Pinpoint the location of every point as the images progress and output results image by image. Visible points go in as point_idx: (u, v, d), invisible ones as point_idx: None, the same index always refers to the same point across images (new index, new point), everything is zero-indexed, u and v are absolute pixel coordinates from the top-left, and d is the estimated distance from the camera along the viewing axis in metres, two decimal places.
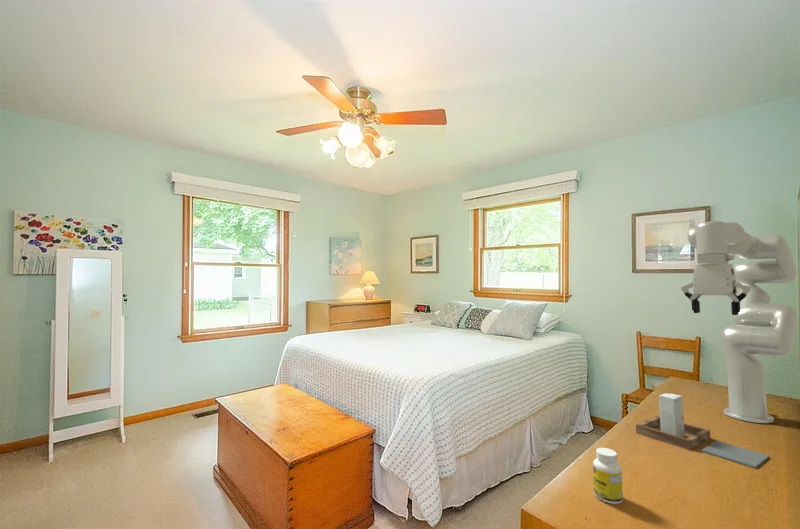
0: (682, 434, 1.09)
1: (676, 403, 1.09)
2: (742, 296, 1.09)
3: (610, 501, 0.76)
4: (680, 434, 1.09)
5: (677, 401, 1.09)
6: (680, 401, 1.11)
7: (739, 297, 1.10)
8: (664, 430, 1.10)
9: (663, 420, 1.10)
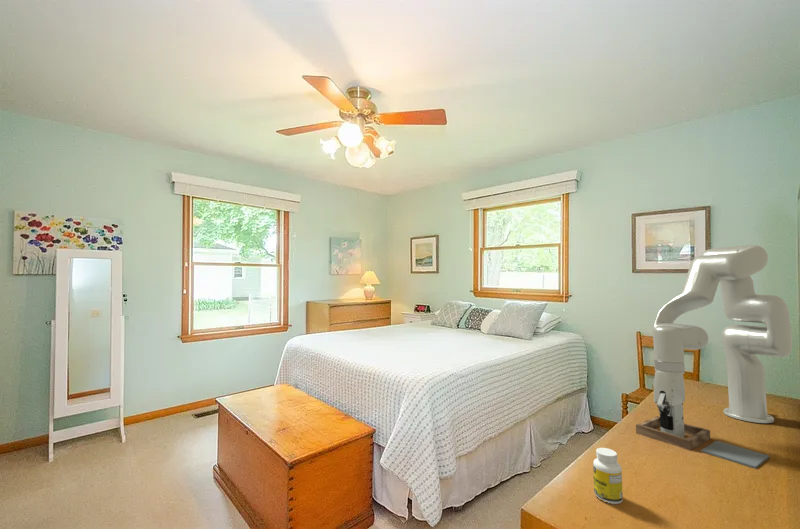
0: (682, 434, 1.09)
1: None
2: (682, 404, 1.13)
3: (610, 501, 0.76)
4: (680, 434, 1.09)
5: None
6: None
7: None
8: (664, 430, 1.10)
9: None
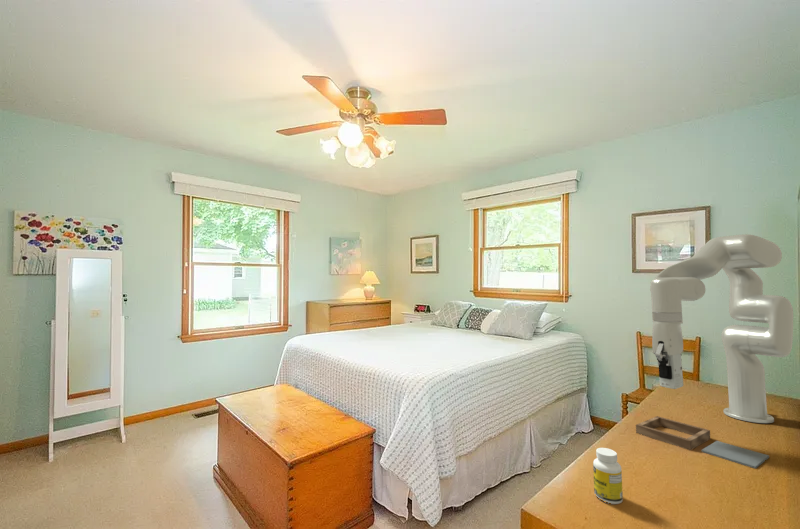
0: (680, 383, 1.10)
1: None
2: None
3: (610, 501, 0.76)
4: (679, 383, 1.10)
5: None
6: None
7: None
8: (663, 380, 1.11)
9: None
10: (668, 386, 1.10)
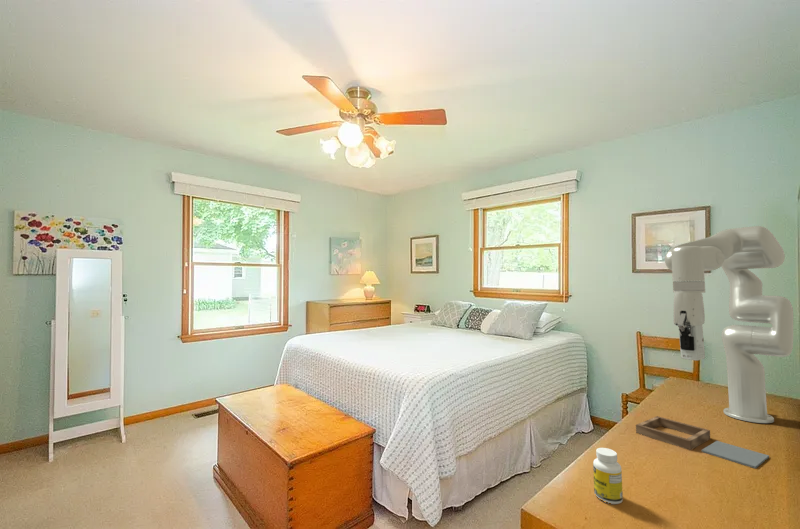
0: (702, 355, 1.06)
1: None
2: None
3: (610, 501, 0.76)
4: (701, 355, 1.05)
5: None
6: None
7: None
8: (684, 352, 1.06)
9: None
10: (690, 358, 1.05)
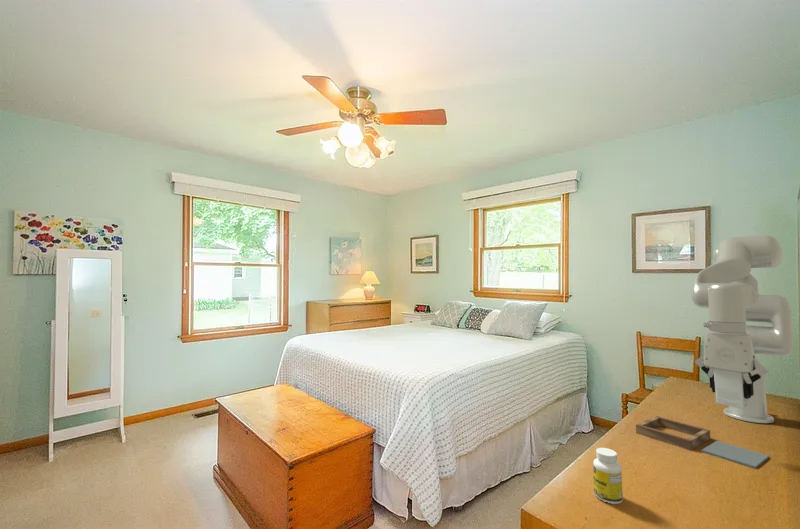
0: None
1: None
2: None
3: (610, 501, 0.76)
4: None
5: None
6: None
7: None
8: (745, 401, 0.96)
9: None
10: (747, 406, 0.97)
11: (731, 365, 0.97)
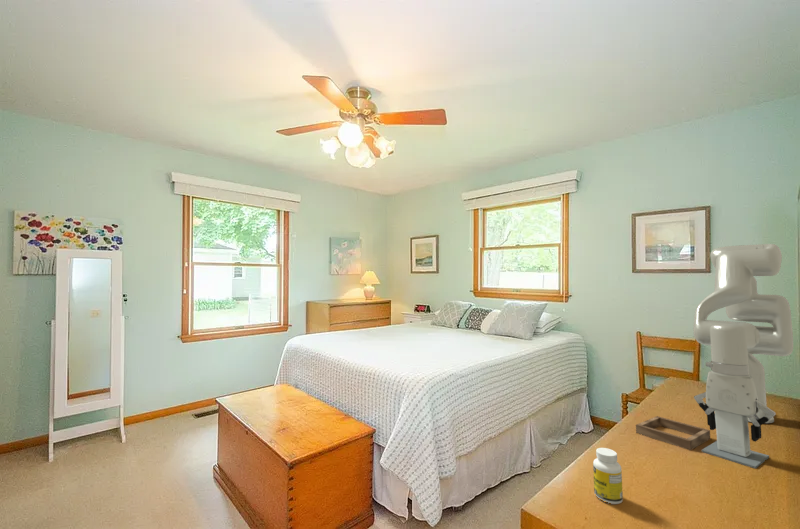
0: None
1: None
2: None
3: (610, 501, 0.76)
4: None
5: None
6: None
7: None
8: (746, 449, 0.96)
9: (745, 438, 0.96)
10: (748, 453, 0.96)
11: (733, 408, 0.97)
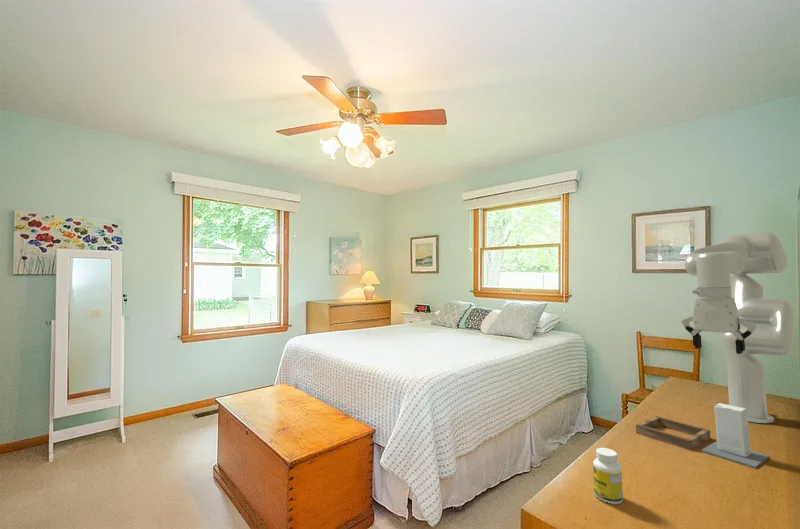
0: None
1: None
2: None
3: (610, 501, 0.76)
4: None
5: None
6: None
7: None
8: (746, 449, 0.96)
9: (745, 438, 0.96)
10: (748, 454, 0.96)
11: (718, 326, 1.06)
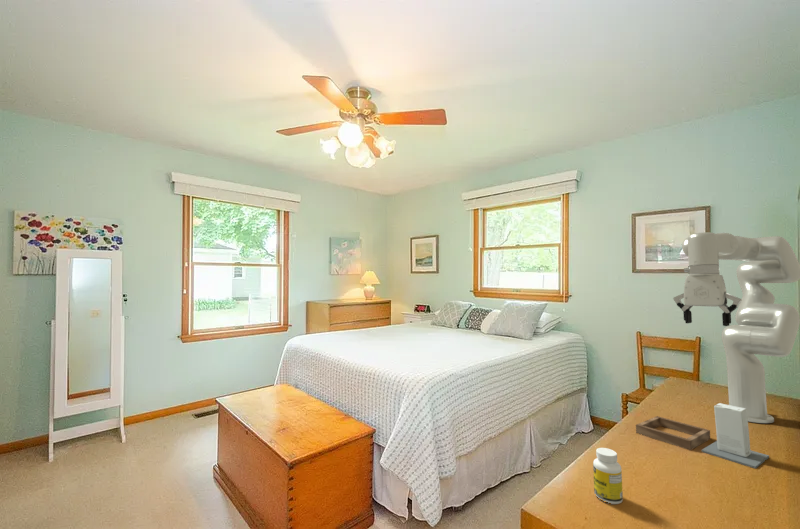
0: None
1: None
2: None
3: (610, 501, 0.76)
4: None
5: None
6: None
7: None
8: (746, 449, 0.96)
9: (745, 438, 0.96)
10: (748, 454, 0.96)
11: (706, 301, 1.14)
